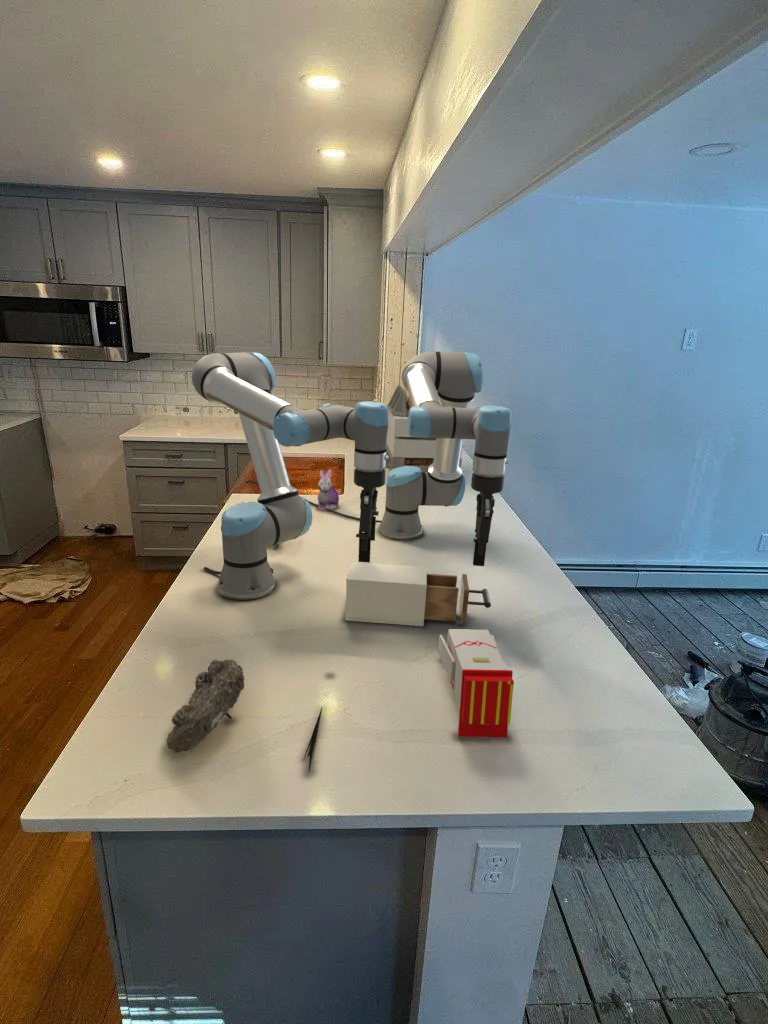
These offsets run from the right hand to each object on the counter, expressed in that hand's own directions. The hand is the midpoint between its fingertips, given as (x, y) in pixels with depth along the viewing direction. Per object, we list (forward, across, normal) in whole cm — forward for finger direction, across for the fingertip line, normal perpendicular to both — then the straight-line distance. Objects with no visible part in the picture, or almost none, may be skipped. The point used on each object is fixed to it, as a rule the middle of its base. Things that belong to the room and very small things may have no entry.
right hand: (478, 564), depth 141 cm
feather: (+16, -42, +32) cm, 55 cm away
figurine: (+16, +79, +51) cm, 95 cm away
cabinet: (+16, 0, +22) cm, 27 cm away
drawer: (+15, 0, +8) cm, 17 cm away
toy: (+16, -30, +3) cm, 34 cm away
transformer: (+16, +136, +15) cm, 138 cm away
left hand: (-2, 0, +28) cm, 28 cm away
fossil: (+16, -44, +53) cm, 70 cm away
